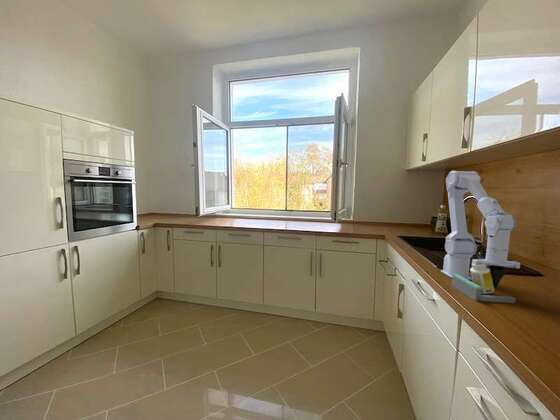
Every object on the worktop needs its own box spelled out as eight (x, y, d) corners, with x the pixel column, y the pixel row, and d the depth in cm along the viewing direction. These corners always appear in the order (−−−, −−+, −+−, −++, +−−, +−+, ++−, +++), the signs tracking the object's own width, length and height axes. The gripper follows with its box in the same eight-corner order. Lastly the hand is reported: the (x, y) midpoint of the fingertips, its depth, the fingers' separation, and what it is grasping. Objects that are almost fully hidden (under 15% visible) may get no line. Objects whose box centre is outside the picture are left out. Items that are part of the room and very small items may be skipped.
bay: (451, 285, 96) (452, 273, 96) (485, 287, 95) (486, 275, 95) (475, 300, 83) (476, 287, 83) (515, 303, 82) (516, 289, 82)
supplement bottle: (494, 287, 90) (489, 260, 89) (494, 295, 86) (488, 266, 85) (475, 286, 94) (469, 260, 93) (473, 293, 90) (467, 266, 89)
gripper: (483, 250, 85) (479, 289, 86) (529, 252, 84) (525, 292, 85) (469, 245, 92) (465, 282, 93) (512, 247, 91) (507, 284, 92)
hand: (493, 286), depth 90 cm, fingers closed
